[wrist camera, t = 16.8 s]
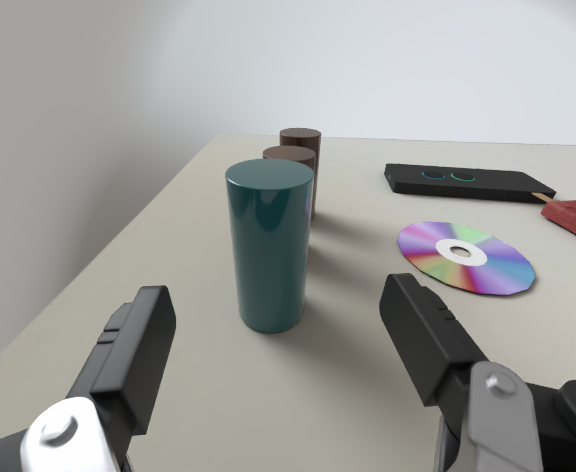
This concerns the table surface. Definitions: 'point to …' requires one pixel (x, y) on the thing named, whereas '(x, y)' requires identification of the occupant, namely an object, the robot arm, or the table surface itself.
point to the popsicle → (560, 212)
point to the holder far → (306, 140)
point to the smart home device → (465, 183)
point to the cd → (466, 258)
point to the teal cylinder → (270, 239)
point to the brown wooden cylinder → (292, 155)
